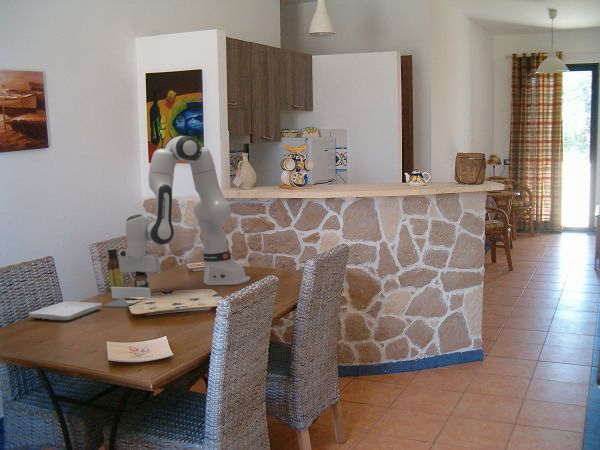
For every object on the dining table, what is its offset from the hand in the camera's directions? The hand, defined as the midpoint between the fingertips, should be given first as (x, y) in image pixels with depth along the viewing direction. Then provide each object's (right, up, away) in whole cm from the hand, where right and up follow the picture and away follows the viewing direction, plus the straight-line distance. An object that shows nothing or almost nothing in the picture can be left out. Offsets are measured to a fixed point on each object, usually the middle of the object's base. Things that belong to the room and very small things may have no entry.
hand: (141, 281), depth 326 cm
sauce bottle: (-15, -5, +16) cm, 23 cm away
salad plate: (-25, -12, -27) cm, 39 cm away
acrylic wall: (-3, -7, -5) cm, 9 cm away
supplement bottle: (0, -6, +1) cm, 6 cm away
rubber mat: (-5, -8, -14) cm, 17 cm away
